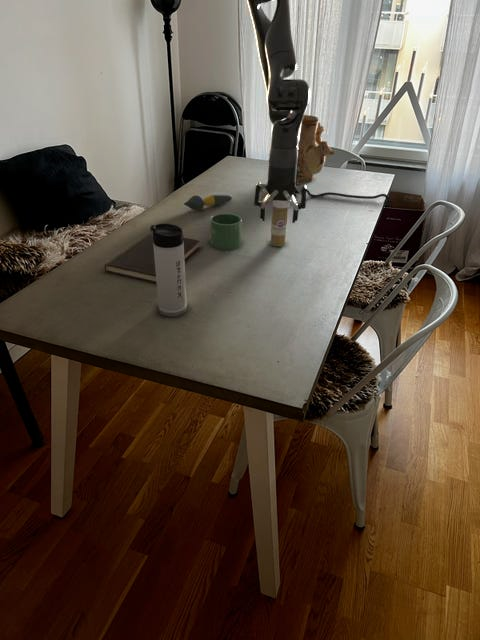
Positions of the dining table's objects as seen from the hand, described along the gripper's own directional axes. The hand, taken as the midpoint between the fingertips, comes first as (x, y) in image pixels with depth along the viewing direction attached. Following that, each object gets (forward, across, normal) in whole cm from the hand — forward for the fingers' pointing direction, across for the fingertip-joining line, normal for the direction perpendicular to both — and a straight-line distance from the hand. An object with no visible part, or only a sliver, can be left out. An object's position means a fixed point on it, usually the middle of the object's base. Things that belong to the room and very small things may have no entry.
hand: (278, 221), depth 133 cm
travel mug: (+8, +22, +39) cm, 46 cm away
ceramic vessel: (+7, -10, -66) cm, 67 cm away
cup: (+7, +15, +2) cm, 16 cm away
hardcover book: (+7, +32, +15) cm, 37 cm away
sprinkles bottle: (+7, 0, 0) cm, 7 cm away
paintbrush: (+7, +24, -27) cm, 37 cm away
